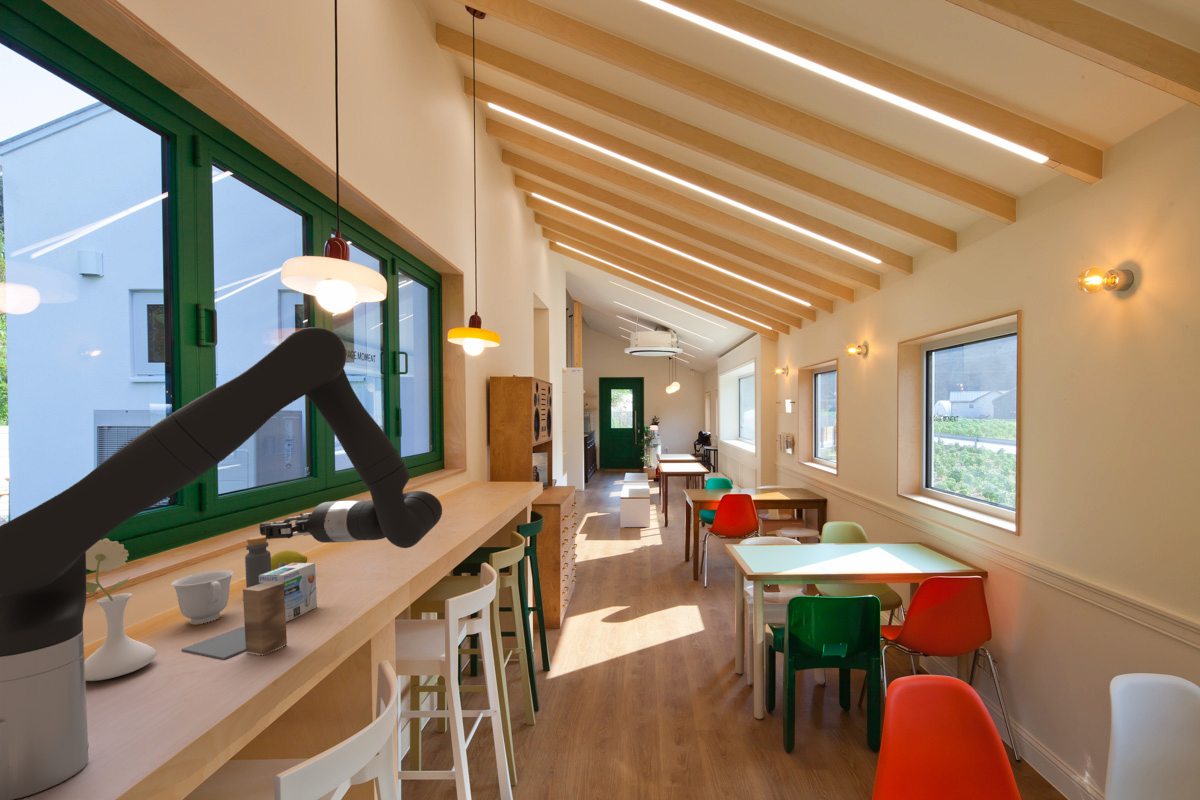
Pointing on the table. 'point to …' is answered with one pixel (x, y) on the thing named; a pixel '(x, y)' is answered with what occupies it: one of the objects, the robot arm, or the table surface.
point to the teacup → (203, 595)
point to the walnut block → (264, 618)
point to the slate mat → (221, 645)
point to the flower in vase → (113, 620)
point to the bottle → (256, 560)
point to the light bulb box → (295, 587)
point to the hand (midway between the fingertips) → (282, 523)
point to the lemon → (286, 559)
